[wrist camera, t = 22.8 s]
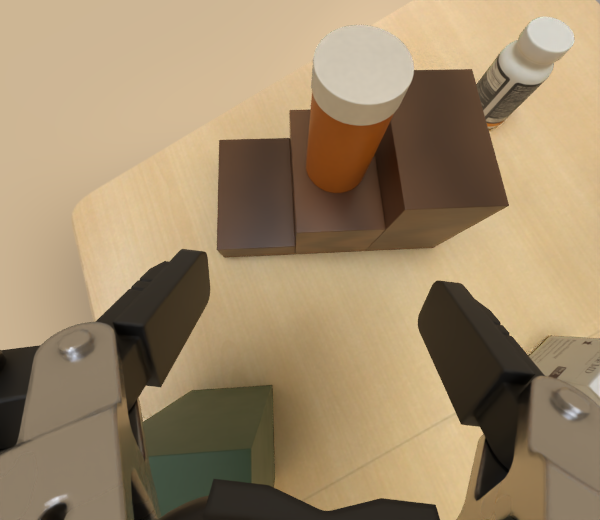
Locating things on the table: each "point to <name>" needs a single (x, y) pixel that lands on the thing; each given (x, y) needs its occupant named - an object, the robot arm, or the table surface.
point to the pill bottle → (522, 67)
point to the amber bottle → (353, 102)
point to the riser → (367, 181)
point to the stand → (210, 442)
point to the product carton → (571, 362)
